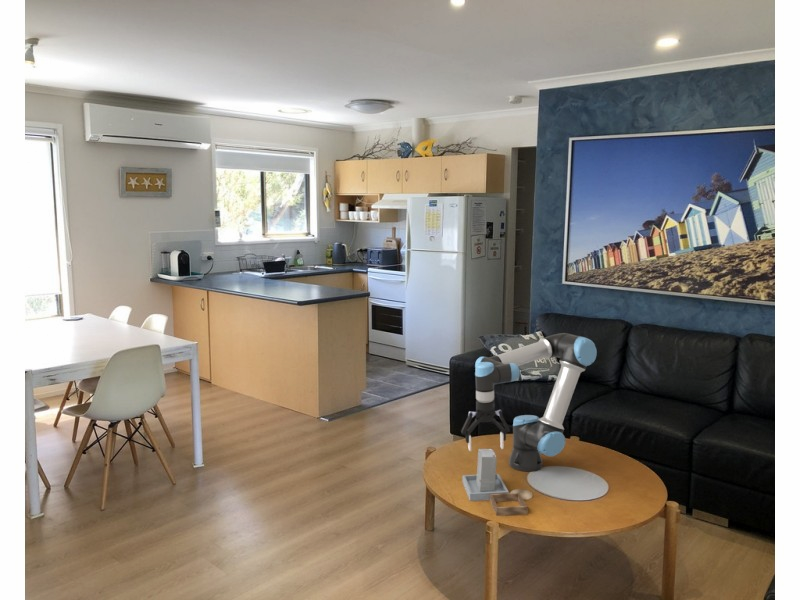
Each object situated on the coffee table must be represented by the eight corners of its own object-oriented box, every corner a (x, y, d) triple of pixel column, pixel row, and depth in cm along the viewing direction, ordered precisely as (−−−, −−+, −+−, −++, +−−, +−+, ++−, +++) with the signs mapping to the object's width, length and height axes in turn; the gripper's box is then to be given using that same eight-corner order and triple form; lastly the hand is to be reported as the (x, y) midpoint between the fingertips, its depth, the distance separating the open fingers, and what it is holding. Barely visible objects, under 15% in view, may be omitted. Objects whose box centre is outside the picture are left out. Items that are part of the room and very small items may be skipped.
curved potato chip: (529, 489, 256) (529, 488, 256) (535, 499, 247) (535, 498, 247) (508, 490, 256) (508, 489, 256) (513, 500, 247) (513, 499, 247)
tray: (498, 480, 266) (498, 473, 265) (508, 499, 248) (508, 492, 248) (462, 481, 265) (462, 475, 264) (469, 500, 247) (469, 493, 247)
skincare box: (476, 483, 260) (476, 448, 258) (492, 483, 261) (492, 447, 259) (480, 492, 252) (480, 456, 250) (497, 492, 252) (497, 455, 250)
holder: (519, 499, 247) (519, 492, 247) (527, 514, 235) (527, 506, 235) (489, 501, 247) (489, 494, 246) (496, 515, 235) (496, 508, 234)
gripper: (512, 395, 256) (513, 443, 259) (453, 398, 254) (454, 447, 257) (517, 400, 248) (517, 450, 251) (456, 404, 247) (457, 454, 250)
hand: (485, 449), depth 254 cm, fingers open, 13 cm apart
